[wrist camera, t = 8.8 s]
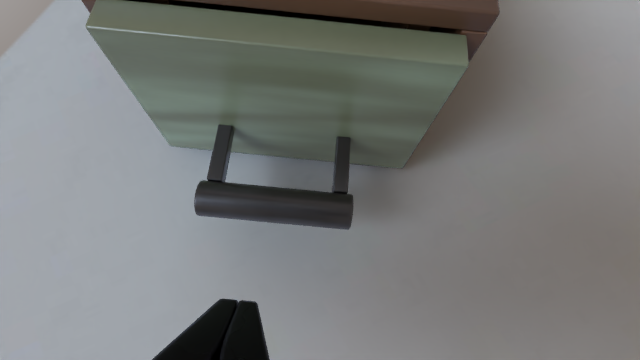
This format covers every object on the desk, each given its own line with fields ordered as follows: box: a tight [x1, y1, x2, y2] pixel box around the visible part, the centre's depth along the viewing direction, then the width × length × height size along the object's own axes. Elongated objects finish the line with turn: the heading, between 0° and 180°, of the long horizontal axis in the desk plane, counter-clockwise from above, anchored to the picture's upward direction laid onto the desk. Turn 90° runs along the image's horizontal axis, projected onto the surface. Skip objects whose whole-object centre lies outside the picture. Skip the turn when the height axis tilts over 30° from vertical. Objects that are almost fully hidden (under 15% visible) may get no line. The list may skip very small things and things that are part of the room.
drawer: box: [86, 0, 469, 230], centre depth 16 cm, size 16×11×8 cm
